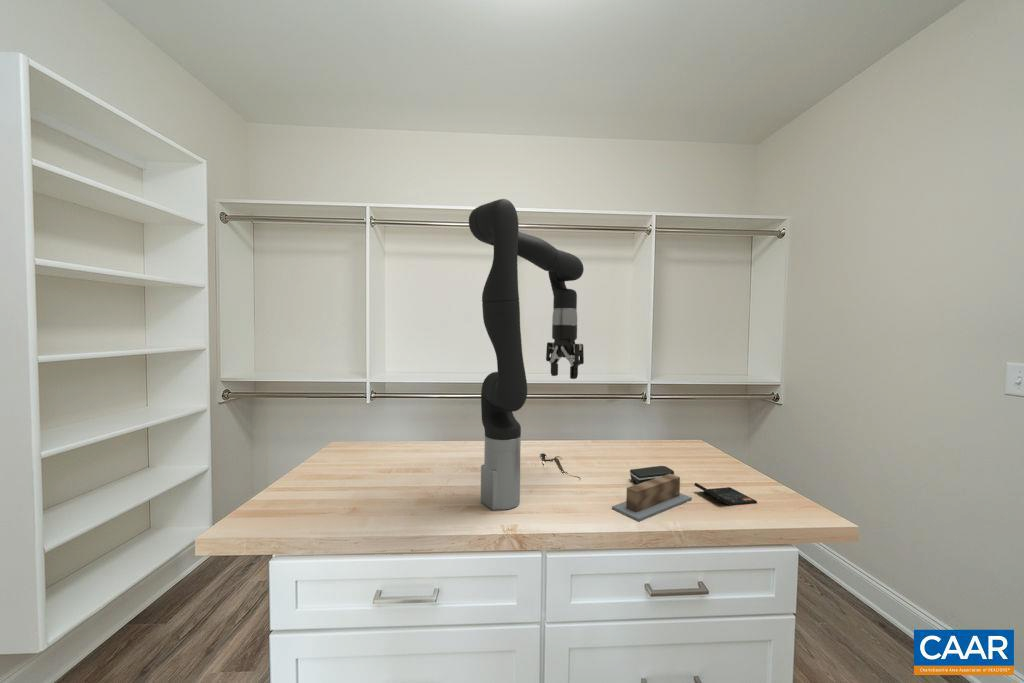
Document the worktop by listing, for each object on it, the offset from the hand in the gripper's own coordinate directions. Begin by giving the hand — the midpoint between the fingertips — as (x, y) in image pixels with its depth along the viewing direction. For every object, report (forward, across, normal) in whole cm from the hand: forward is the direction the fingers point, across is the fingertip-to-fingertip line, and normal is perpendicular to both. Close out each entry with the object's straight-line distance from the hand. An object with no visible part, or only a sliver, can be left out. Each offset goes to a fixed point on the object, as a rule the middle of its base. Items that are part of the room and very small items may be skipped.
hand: (563, 377), depth 120 cm
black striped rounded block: (+29, +16, +13) cm, 36 cm away
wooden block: (+30, +28, +6) cm, 41 cm away
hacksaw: (+31, -6, +4) cm, 32 cm away
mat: (+30, +28, +6) cm, 42 cm away
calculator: (+31, +36, +26) cm, 54 cm away
